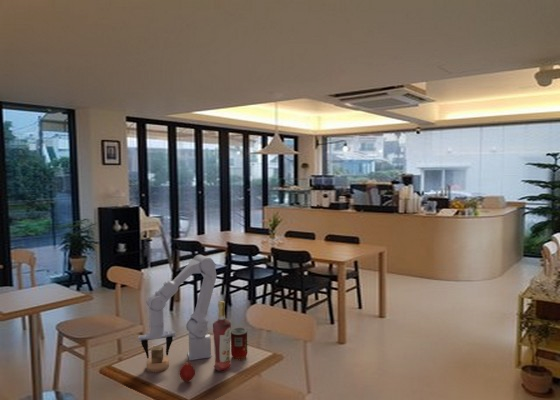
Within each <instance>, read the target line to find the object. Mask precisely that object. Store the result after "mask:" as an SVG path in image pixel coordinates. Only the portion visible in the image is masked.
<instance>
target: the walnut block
mask: <svg viewBox="0 0 560 400" xmlns="http://www.w3.org/2000/svg"><path fill="white" fill-rule="evenodd" d="M150 351H151V352H150V354H151V359H152V364H155V363H162V361H163V356H164V346H163V345H158V346H157V345H156V346H152V348H151V350H150Z"/></svg>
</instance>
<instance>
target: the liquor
mask: <svg viewBox="0 0 560 400" xmlns="http://www.w3.org/2000/svg"><path fill="white" fill-rule="evenodd" d="M225 306H226V301H224V300H220V301H219V300H218V302H217V307H218V317H217V320H216V321H214V322H213V323H212V336H213V347H214V348H213V349H214V365H213V367H214V369H215V370H216V371H218V372H226V371H228V370H229V369H230V368H231V366H232V364H231V356H230V355H231V331H232V330H231V328H232V324H231V322H230V321H229V320H227V319H226V312H225V308H226V307H225Z"/></svg>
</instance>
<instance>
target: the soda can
mask: <svg viewBox="0 0 560 400" xmlns="http://www.w3.org/2000/svg"><path fill="white" fill-rule="evenodd" d="M230 355H231V357H232V359H233V360H235V361H243V360H245V359H246V358H247V355H248V331H247V329H246V328H243V327H236V328H235V327H234V328H233V329H232V330H231V337H230Z"/></svg>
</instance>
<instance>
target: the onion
mask: <svg viewBox="0 0 560 400" xmlns="http://www.w3.org/2000/svg"><path fill="white" fill-rule="evenodd" d="M195 375H196V370H195V367H194V365H192V364H191V363H189V362H188V361H186V362H185V364H183V365H182V366H181V367H180V370H179V378H180V379H181V380H183V381H184V382H185V383H189V382H190V381H192V380H193V379H194V377H195Z"/></svg>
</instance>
